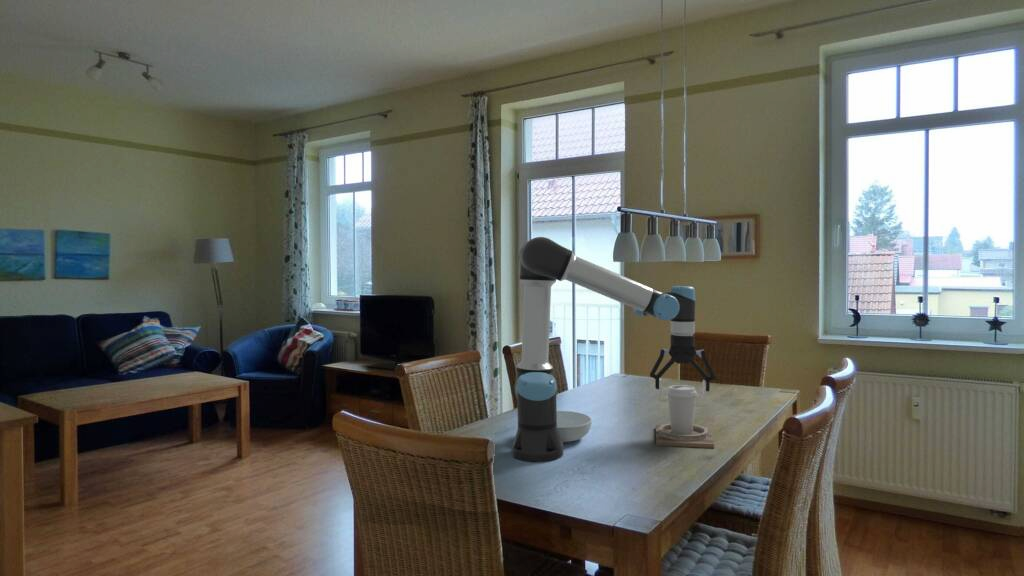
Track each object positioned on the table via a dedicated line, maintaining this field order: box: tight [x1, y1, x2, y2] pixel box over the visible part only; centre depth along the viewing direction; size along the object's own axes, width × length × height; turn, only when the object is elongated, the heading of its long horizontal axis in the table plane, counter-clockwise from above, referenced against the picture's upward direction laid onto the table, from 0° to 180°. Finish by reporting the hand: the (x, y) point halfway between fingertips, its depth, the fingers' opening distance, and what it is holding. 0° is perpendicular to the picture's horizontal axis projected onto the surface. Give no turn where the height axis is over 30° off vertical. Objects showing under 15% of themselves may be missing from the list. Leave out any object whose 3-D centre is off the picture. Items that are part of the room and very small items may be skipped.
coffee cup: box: [666, 384, 698, 435], centre depth 194 cm, size 10×10×15 cm
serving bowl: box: [557, 410, 592, 443], centre depth 195 cm, size 21×21×7 cm
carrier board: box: [655, 422, 715, 449], centre depth 195 cm, size 20×17×3 cm
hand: (681, 400), depth 194 cm, fingers open, 13 cm apart
